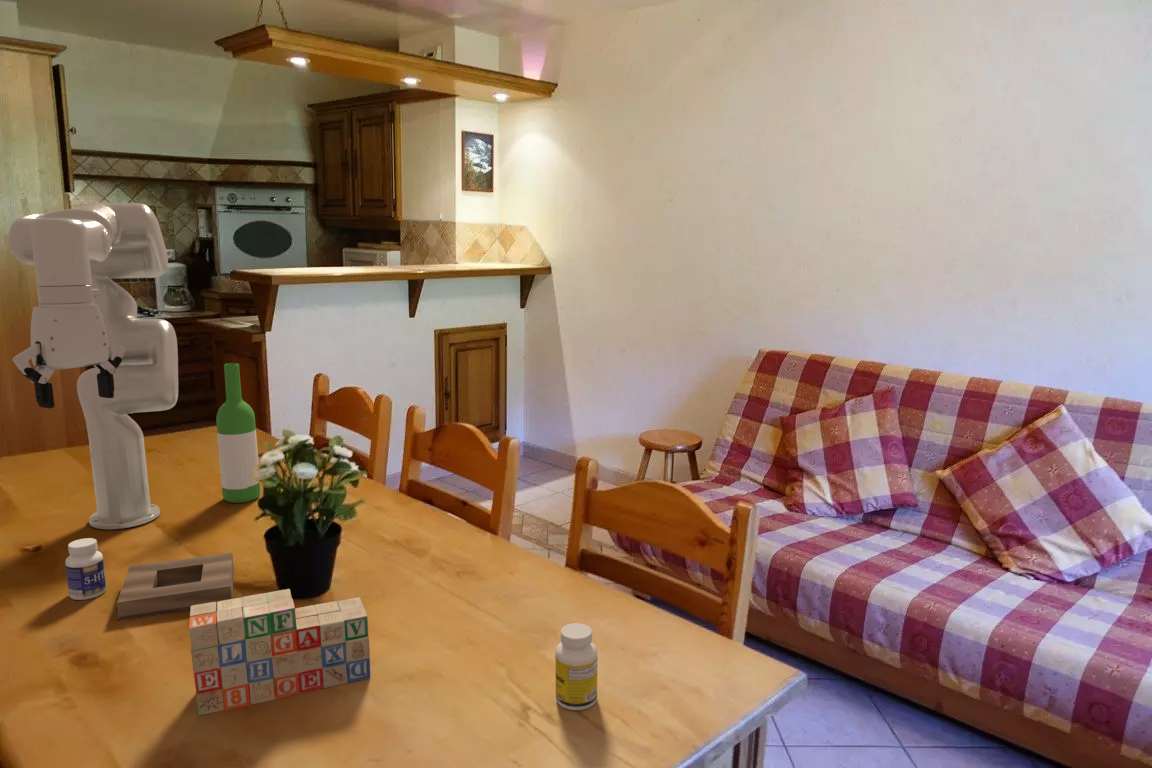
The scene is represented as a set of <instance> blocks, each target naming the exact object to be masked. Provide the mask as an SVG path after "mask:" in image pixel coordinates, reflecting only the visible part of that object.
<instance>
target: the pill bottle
mask: <svg viewBox="0 0 1152 768" xmlns="http://www.w3.org/2000/svg"><path fill="white" fill-rule="evenodd" d="M67 546H68V547H67V550H68V554H69V555H68V557H67V558H66V559H65V563H64V565H65V574H66V581H67V589H68V590H67V591H68V596H69V598H70V599H71V600H75V601H76V600H77V601H83V600H84V601H85V600H90V599H94V598H97V597H99V596H101V595H103V594H104V593H105V592H107V591H106V590H107V581H106V574H105V572H106V571H105V563H104V556H103V553H102V552H100V551H99V550H98V541H97V539H96V538H92V537H88V538H80V539H76V540H73V541H71V542H69V543H68V545H67Z"/></svg>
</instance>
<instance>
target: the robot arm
mask: <svg viewBox="0 0 1152 768" xmlns="http://www.w3.org/2000/svg"><path fill="white" fill-rule="evenodd" d="M8 230H9V231H8V236H7V241H8V247H9V248H8V249H10V252H11V254H12V256H13V257H14V258H15V259H16V260H17V261H19V263H21V264H24V265H29V266H30V265H31V266H32V265H34V273H35V275H34V276H35V281H36V282H35V283H36V290H37V291H36V292H37V293H36V294H37V299H38V300H37V301H38V306H34V307H32V313H31V322H30V346H29V347H28V348H26V349H24V350H23V351H21V352H19V353H18V354H17V355H15V356H13V358H12V362H13V363H14V364H15V366H16V367H17V369H18V370H19V371H20V372H19V373H21V375H23V376H24V377H25V378H27V379H28V380H29V382H31V383H33V384H34V392H35V400H36V402H37V404H38V407H40V408H42V409H43V408H44V409H53V408H55V399H54V389H53V384H52V382H49V380H50V378H51V377H52V376H53V374H54V373H55V371H56V370H57V371H58V370H59V371H60V370H68V369H74V368H75V369H76V368H82V367H91V366H93V367H92V368H89V369H87V370H85V371H84V372H82V373H81V374H80V375H79V377H78V379H77V383H76V390H77V391H76V392H77V396H78V399H79V403H80V406H81V409H82V413H83V415H84V420H85V426H86V431H87V437H88V444H89V453H90V462H91V471H92V478H93V488H94V495H95V496H94V497H95V503H96V511H95V512H93V514H91V515H90V517H89V518H88V522H89V525H90V526H91V527H93V528H95V529H99V530H121V529H123V530H124V529H127V528H132V527H138V526H140V525H141V526H142V525H144V524H147V523H149V522H152V521H153V520H155V519H156V518H158V517H159V516H160V515H161V511H160V510H161V509H160V506H158V505H156V504H154V503H151V497H150V496H151V495H150V488H149V478H148V468H147V460H146V459H147V458H146V449H145V448H146V447H145V439H144V438H145V437H144V433H143V431H142V429H141V427H140V426H139V424H138V423H137V422H136V421H135V420H134V419H132V417H131V416H129V415H128V414H134V413H148V412H149V413H150V412H162V411H167V410H170V409H173V408H174V407H175V406H176V404H177V401H178V398H179V355H178V351H179V350H178V339H177V334H176V331H175V328H174V325H172V324H171V322H169V321H167V320H166V319H161V318H138V304H137V302H136V300H135V298H134V297H133V296H132V295H131V294H130V293H129V292H128V291H127V290H125V288H124V287H122V286H120V285H119V284H117V283H116V282H115V281H113V280H112V279H144V278H145V279H155V278H158V277H162V276H163V275H164V274H165V273H166V271H167V270H168V266H169V265H168V264H169V258H168V252H167V247H166V245H165V241H164V238H163V233H162V230H161V227H160V223H159V221H158V218H157V216H156V215H155V213H154V211H153V210H152V209H151V208H150V206H148V205H147V204H144V203H141V202H100V201H99V202H89V203H85V204H82V205H80V206H78V207H77V208H69V209H68V208H67V209H62V210H56V211H47V212H39V213H31V214H26V215H23V216H20V217H17V218H16V219H15V220H14V221H12V223H11V224H10V227H9V229H8ZM30 360H31V362H32V365H33V366H34V367H35V369H34V368H33V367H32V366H31V364H30V362H29V361H30Z"/></svg>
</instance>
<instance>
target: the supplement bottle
mask: <svg viewBox="0 0 1152 768" xmlns="http://www.w3.org/2000/svg"><path fill="white" fill-rule="evenodd" d="M597 698H598V649H597V646H596V645H595V643H594V642H593V630H592V628H591V627H590V626H588V625H587V624H584V623H579V622H576V623H575V622H574V623H567V624H566V625H564V626H563V627H562V628H561V629H560V642H559V643H558V645H557V646H556V649H555V700H556V703H557V704H558V705H559V706H560V707H562V708H564V709H565V710H568V711H569V710H570V711H585V710H586V709H590V708H591V707H593V706H594V705H595V704H596V702H597V700H598V699H597Z"/></svg>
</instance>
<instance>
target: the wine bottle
mask: <svg viewBox="0 0 1152 768" xmlns="http://www.w3.org/2000/svg"><path fill="white" fill-rule="evenodd" d="M223 369H224V383H225V395H226V397H225V398H226V399H225V402H224V403H222V405H221V406H220V407H219V408H218V410H217V412H216V418H215V419H216V420H215V422H216V435H217V445H218V447H217V448H218V449H217V450H218V459H219V472H220V483H221V493H222V498H223V499H224V501H226V502H228V503H233V504H241V503H248V502H252V501H254V500H256V499H258V497H259V496H260V495H261V482H260V483H258V482H257V481H256V480H255V479H254V478H253V476H252V471H253V469H254V468H255V467H256V466H257V465H258V464H259V455H258V452H259V451H258V440H257V430H256V428H257V427H256V418H255V412H254V410H253V408H252V407H251V406H250V404H248V403H247V402H246V401H245V400H243V398H242V385H241V375H240V374H241V373H240V364H239V363H237V362H229V363H225V364H224V365H223Z"/></svg>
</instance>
